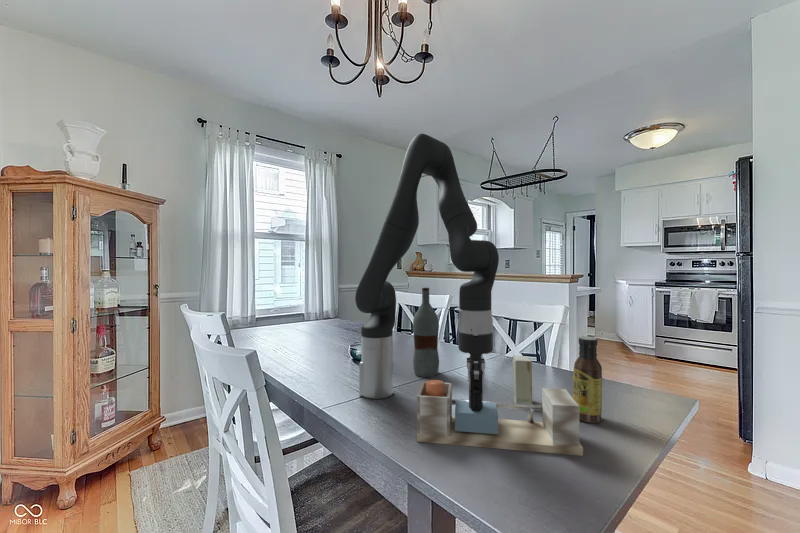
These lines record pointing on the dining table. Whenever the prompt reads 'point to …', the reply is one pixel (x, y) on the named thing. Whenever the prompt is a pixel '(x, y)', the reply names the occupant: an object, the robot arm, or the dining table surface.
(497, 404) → the handrail
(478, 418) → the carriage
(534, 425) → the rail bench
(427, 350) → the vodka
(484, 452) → the dining table surface
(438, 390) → the button
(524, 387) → the skincare box
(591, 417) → the sauce bottle
